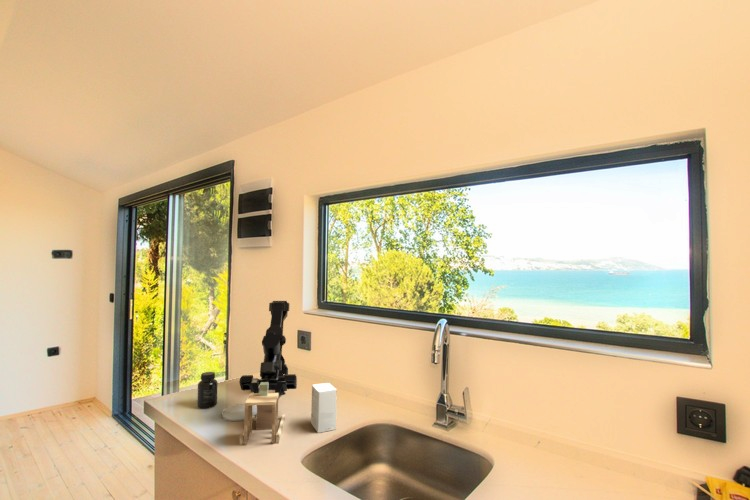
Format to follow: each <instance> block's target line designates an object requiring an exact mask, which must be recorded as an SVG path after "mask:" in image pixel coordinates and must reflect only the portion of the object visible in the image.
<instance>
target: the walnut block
mask: <svg viewBox="0 0 750 500" xmlns="http://www.w3.org/2000/svg"><path fill="white" fill-rule="evenodd" d="M268 393H275V390H268ZM256 406H257V415H256V417H257V420H256V428H255V429H256V431H262V430H263V431H267V430H272V408H273V405H256Z"/></svg>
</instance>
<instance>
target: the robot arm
mask: <svg viewBox="0 0 750 500" xmlns="http://www.w3.org/2000/svg"><path fill="white" fill-rule="evenodd" d="M268 304H269V305H268V312H270V315H271V319H270V325H269V327H268V328H267V329H266V331H265V335H263V337H262V341H261V346H262V349H263V354H264V357H263V361H262V362H260V367H259V368H260V369H259V377H260V378H257V377H256V378H255V377H254V376H253V374H250V375H249V374H248V375H247V374H246V375H245V374H244V375H241V376H240V377H239V386H240V390H242V391H250V393H259V387H260V383H261V382H269V387H268V390H275V393H279V398H278V401H279V400H280V398H281V396H282V395H286V392H287V391H288V390H296V389H297V388H298V387H297V385H298V380H297V379H298V378H297V377H298V376H297V375H296V373H291V374H290V373H289V368H288V366H287V364H286V360H285V358H284V356H283V353H282V352H283V346H285V344H286V343H287V338H286V336H285V335H284V322H285V320H286V318H287V317H288V312H289V311H290V302H288V301H287V300H272V301H271V302H269V303H268Z"/></svg>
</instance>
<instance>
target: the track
mask: <svg viewBox="0 0 750 500" xmlns="http://www.w3.org/2000/svg"><path fill="white" fill-rule="evenodd" d="M285 418H286V414H282V415H281V416H279V415H278V420H280V422H279V424H278V426H279V427H278V431H277V432H276V438H275V444H280V443H279V442H280V440H281V439H280V438H281V436H282V431H283V427H284V423H285V420H286V419H285ZM254 421H257V416H252V424H254ZM242 445H244V432H243V433H242V434H240V435H239V446H242Z"/></svg>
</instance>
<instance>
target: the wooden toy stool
mask: <svg viewBox="0 0 750 500" xmlns="http://www.w3.org/2000/svg"><path fill="white" fill-rule="evenodd" d="M268 387H269V382H261V383H260V385H259V393H254V392H250V393H249V395H248V396H247V399H246V400H245V402H244V404H245V418H244V420H243V423H244V424H243V425H244V427H243V428H244V429H243V433H244V443H243V445H247V443H248V440H249V439H250V435H251V434H252V430H253V423H252V406H253V405H255V406H257V405H273V408H272V429H271V444H275V443H276V433H278V429H279V427H278V426H279V424H278V423H279V419H278V416H279V400H278V398H279V393H268ZM279 399H280V398H279Z"/></svg>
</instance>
